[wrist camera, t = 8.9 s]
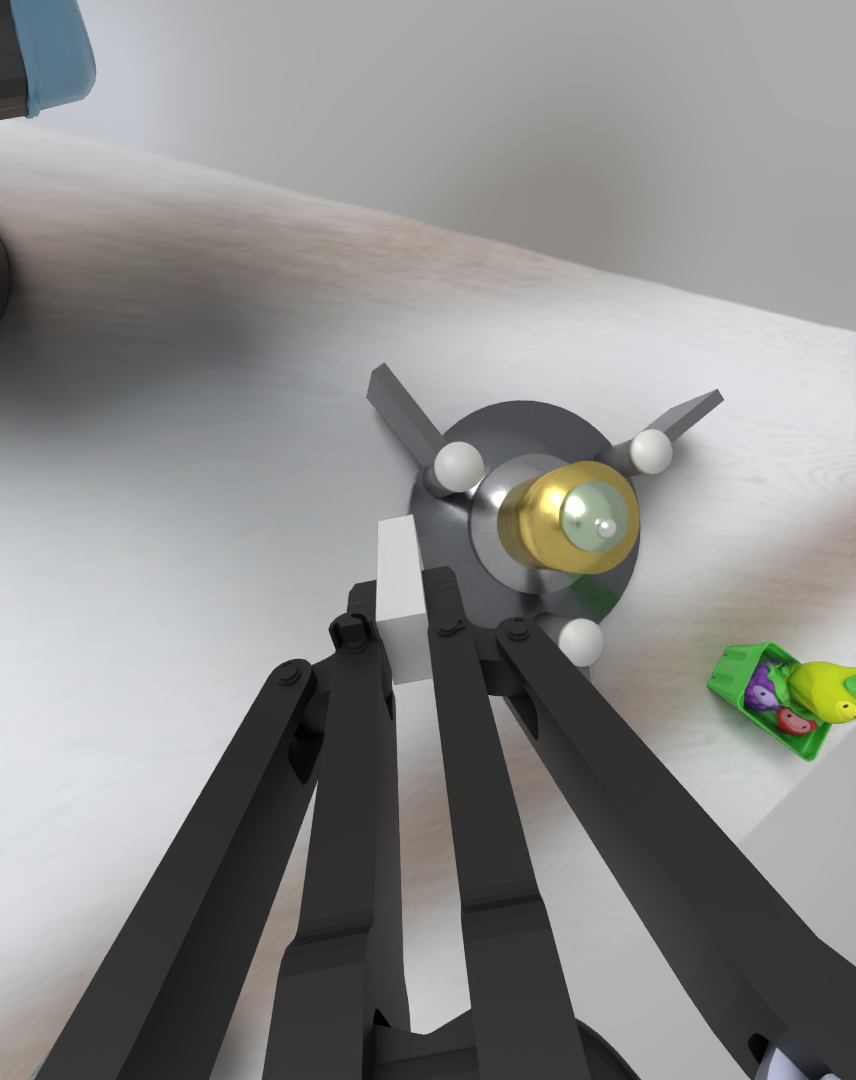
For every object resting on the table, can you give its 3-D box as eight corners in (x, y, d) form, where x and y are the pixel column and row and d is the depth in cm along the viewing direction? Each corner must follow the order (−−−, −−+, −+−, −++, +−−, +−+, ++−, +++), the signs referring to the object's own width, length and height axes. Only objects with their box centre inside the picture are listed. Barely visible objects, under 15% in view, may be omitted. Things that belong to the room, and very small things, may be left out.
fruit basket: (691, 689, 45) (805, 733, 34) (729, 619, 47) (851, 641, 36) (761, 742, 47) (891, 801, 36) (796, 674, 49) (932, 711, 38)
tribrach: (392, 409, 39) (418, 348, 27) (619, 399, 44) (723, 344, 32) (422, 668, 39) (461, 719, 27) (645, 627, 44) (759, 655, 33)
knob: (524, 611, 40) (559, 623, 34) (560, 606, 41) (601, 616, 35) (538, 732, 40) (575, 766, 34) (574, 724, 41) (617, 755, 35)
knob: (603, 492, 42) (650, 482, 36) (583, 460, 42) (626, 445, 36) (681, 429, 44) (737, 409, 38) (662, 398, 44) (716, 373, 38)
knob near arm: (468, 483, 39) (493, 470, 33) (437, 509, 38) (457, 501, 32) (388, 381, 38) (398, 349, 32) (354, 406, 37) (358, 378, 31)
